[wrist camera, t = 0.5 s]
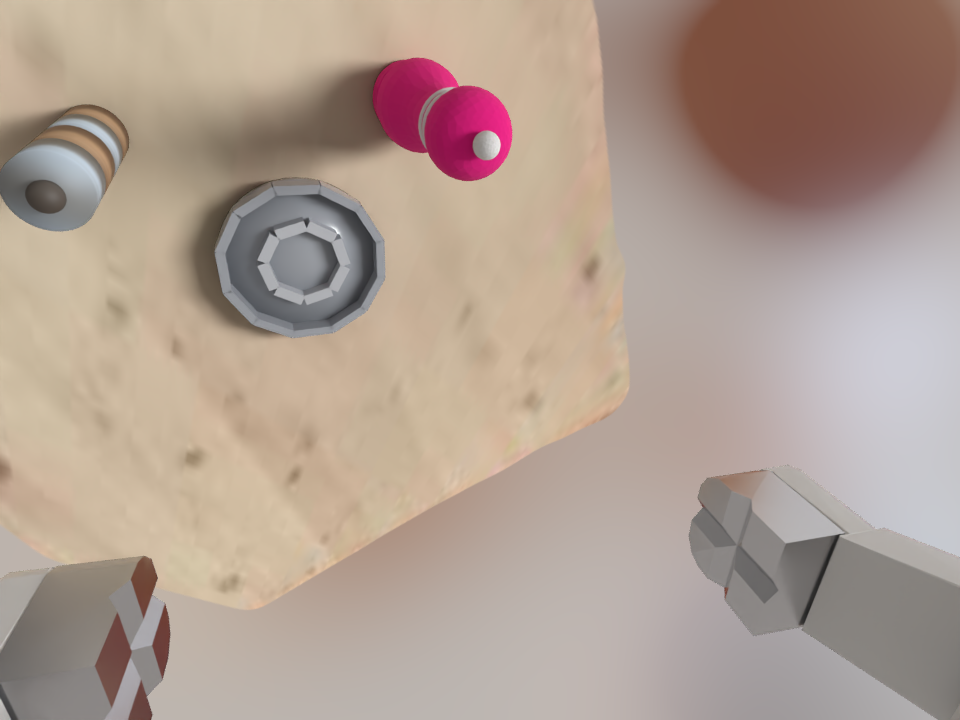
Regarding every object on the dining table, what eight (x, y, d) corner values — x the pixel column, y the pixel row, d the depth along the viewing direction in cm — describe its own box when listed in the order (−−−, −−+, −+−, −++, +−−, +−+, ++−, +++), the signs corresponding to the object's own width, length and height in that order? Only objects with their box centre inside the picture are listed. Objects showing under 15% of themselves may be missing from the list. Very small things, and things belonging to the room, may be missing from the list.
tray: (256, 145, 47) (258, 153, 45) (404, 222, 56) (411, 230, 54) (192, 292, 52) (191, 304, 50) (338, 342, 60) (342, 354, 58)
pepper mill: (398, 156, 52) (474, 227, 37) (349, 87, 48) (413, 135, 32) (458, 109, 52) (560, 160, 37) (415, 34, 47) (512, 57, 32)
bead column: (70, 92, 41) (1, 143, 28) (137, 124, 44) (102, 184, 30) (53, 146, 42) (-21, 219, 29) (118, 174, 45) (78, 253, 32)
